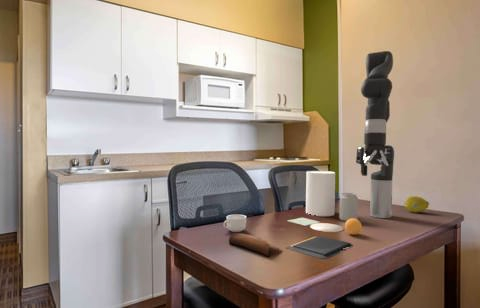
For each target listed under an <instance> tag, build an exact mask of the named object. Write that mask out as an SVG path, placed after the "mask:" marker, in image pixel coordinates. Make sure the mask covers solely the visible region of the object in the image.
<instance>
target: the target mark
mask: <svg viewBox="0 0 480 308" xmlns="http://www.w3.org/2000/svg"><path fill="white" fill-rule="evenodd" d="M309 227H310V229H311V230H314V231H317V232H325V233H337V232H339V233H340V232H342V231H344V230H345V227H344V226H341V225H339V224H335V223H327V222H326V223H325V222H320V223H316V224H311V225H309Z"/></svg>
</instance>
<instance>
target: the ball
mask: <svg viewBox="0 0 480 308" xmlns="http://www.w3.org/2000/svg"><path fill="white" fill-rule="evenodd" d="M362 229H363V226H362V223H361V221H360V220H359V219H358V218H357V219H354V218H351V219H349V220H347V221H346V222H345V224H344V230H345V231H346V233H348V234H349V235H353V236H355V235H358V234H360V233H361V231H362Z"/></svg>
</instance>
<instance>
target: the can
mask: <svg viewBox="0 0 480 308" xmlns="http://www.w3.org/2000/svg"><path fill="white" fill-rule="evenodd" d="M358 199H359V198H358V196H357V193H353V192H342V193H341V195H340V196H339V214H338V215H339V216H338V217H339V219H340V220H341V221H342V222H345V223H346V221H347V220H349V219H351V218H354V219H357V220H358V208H359V207H358V203H359V201H358Z"/></svg>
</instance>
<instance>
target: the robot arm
mask: <svg viewBox="0 0 480 308" xmlns="http://www.w3.org/2000/svg"><path fill="white" fill-rule="evenodd" d="M393 66H394V57H393V54H392V52H391V51H388V50H385V51H377V52H376V51H375V52H370V53H368V54H367V55H366V57H365V69H366V70H365V72H366V78H365V79H364V80H363V82H362V83H361V87H360V91H361V92H360V93H361V94H362V96H363V97H364V98H366V99H367V105H366V107H365V122H364V133H363V134H364V135H363V136H364V137H363V139H364V140H363V141H364V142H363V144H364V146H363V147H361V146H358V147H356V159H355V162H356V164H358V165H360V174H361V176H365V177H367V176H368V164H370V165H375V166H380V170H377V171H374V172H372V173H371V174H370V197H369V198H370V202H369V203H370V204H369V206H370V207H369V216H371V217H374V218H380V219H390V218H392V216H393V175H394V162H395V150H394V147H393V146H392V145H390V144H389V145H387V123H388V121H389V119H390V115H391V112H390V111H391V110H390V101H389V98H390V96H391V93H392V91H393V83H392V81H391V80H390V79H389V78H388V77H389V75H390V73H391V72H392V69H393Z"/></svg>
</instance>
